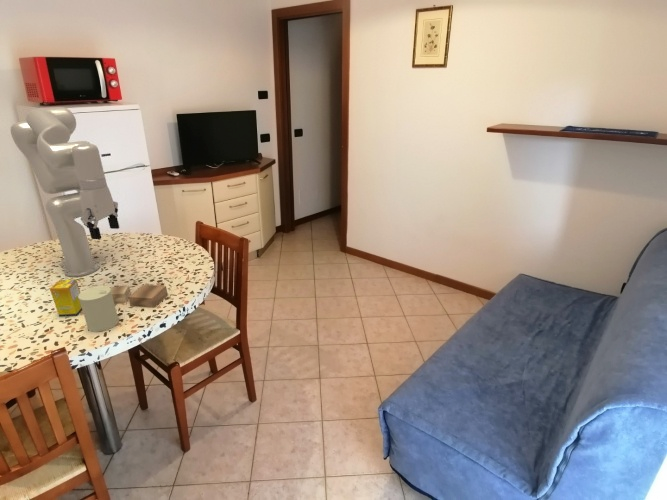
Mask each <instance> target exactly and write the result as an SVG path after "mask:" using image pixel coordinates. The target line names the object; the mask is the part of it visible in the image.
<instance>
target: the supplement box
mask: <svg viewBox="0 0 667 500" xmlns="http://www.w3.org/2000/svg"><path fill="white" fill-rule="evenodd" d="M49 291H50V294H51V296H52V300H53V303H54V306H55V309H56V311H57V315H58V317H59V318H60V317H74V316H75V317H76V316H78V315H79V313H81V311H83V310H82V307H81V304H80V301H79V298H78V295H79V294H80V293H81V291H80V287H79V283H78V279H76V278H75V279H73V278H72V279H71V278H70V279H59V280H57V282H55V283H53V285H51V287H49Z"/></svg>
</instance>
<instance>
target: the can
mask: <svg viewBox="0 0 667 500" xmlns="http://www.w3.org/2000/svg"><path fill="white" fill-rule="evenodd" d="M78 298H79V301H80V304H81V307H82V310H81V311H82V312H83V313H82V314H83V317H84V319H85V323H86V329H87V330H88V331H90V332H94V333H97V332H104V331H108V330H110V329H111V328H114V327H115V326H117V324H119V322H120V317H119V315H118V313H117V309H116V304H114V301H113V297H112V293H111V286H107V285H96V286H91V287H88V288H86V289H84V290H83V291H80V294H79V295H78Z"/></svg>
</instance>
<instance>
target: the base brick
mask: <svg viewBox="0 0 667 500" xmlns="http://www.w3.org/2000/svg"><path fill="white" fill-rule="evenodd" d="M167 296H168V289H167V286H166V285H157V284H142V285H140V286H139V287H138V288H137V289H136V290H134V291H133V292H131V295H130V296H129V297H128V298H129V299H128V302H129V306H130V307H136V308H154V309H155V308H156V307H157V306H158V305H159V304H160V303H161V302H162V301H163V300H164V299H165V298H166V297H167Z"/></svg>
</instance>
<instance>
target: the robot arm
mask: <svg viewBox="0 0 667 500" xmlns="http://www.w3.org/2000/svg"><path fill="white" fill-rule="evenodd" d="M25 115H26V116H25V120H22V121H18V122H15V123H13V124H12V125H11V126H10V135H11V138H12V140H13V142H14V144H15V145H16V147H17V149H19V151H20V152H21V153H22V154H23V156H24V157H25V158H26V159H27V160H28V162H29V164H30V166H31V168H32V171H33V173H34V175H35V178H36V179H37V181H38V184H39V185H40V188H41V189H42V191H43V192H44V193H46V194H49V195H55V194H60V193H61V194H62V193H67V192H70V191H71V192H72V191H76V192H74V193H67V194H63V195H58V196H54V197H51V198H49V199H48V200H47V201H46V203H45V209H46V212H47V214H48V217H49V219H50V220H51V223H52V224H53V227H54V229H55V232H56V234H57V238H58V241H59V244H60V249H61V252H62V254H63V257H64V258H62V259H61V262H60V263H59V266H61V267H65V269H64V270H63V274H64V275H65V276H66V277H70V278H71V277H72V278H74V277H76V278H77V277H83V276H87V275H90V274H93V273H95V272H96V271H98V270H99V268H100V264H99V262H98V261H97V262H96V261H94V258H93V253H92V250H91V246H90V244H89V240H88V235H87V233H86V230H85V227H86V228H87V229H88V231H89V234H90V238H91V239H92V240H101V239H102V235H101V231H100V227H98V226H99V225H98V224H99V221H102V220H103V219H106V218H107V221H108V226H109V229H111V230H112V229H114V230H118V229H120V224H119V220H118V217H119V216H118V215H119V214H118V211H119V209H118V208H119V207H118V206H119V203H118V202H117V201H114V200H113V199H114V198H113V196H112V194H111V191H110V189H109V186H108V184H107V180H106V176H105V171H104V167H103V164H102V163H103V162H102V158H101V154H100V151H99V148H98V146H97V145H95V144H93V143H90V142H89V141H87V140H81V141H80V140H78V141H71V142H69V141H70V139H71V136H72V134H73V133H74V132H75V131H76V128H77V120H76V119H77V118H76V117H75V115H74V114H73V112H72V111H71V110H70V109H69V108H66V107H65V106H64V107H62V106H57V107H56V106H55V107H38V108H34V109H31V110H30V111H28V113H26V114H25ZM78 218H80V221H81V222H82V223H80V222H78V221H77V220H76V219H78ZM82 224H83V225H84V226H85V227H84V226H83V225H82Z"/></svg>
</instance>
